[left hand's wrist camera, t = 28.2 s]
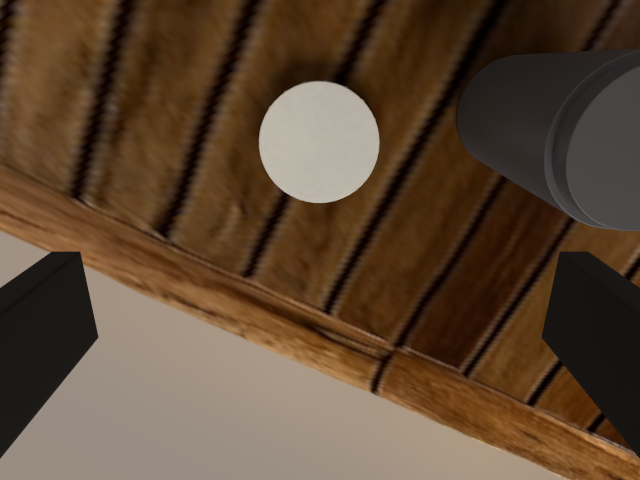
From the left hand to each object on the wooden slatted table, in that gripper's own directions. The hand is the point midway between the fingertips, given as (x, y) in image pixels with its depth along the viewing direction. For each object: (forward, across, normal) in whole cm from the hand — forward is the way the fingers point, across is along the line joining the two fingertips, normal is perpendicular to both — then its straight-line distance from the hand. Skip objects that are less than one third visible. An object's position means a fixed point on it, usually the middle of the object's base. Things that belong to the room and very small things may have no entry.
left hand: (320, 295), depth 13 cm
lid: (+27, 0, 0) cm, 27 cm away
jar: (+28, +16, +2) cm, 33 cm away
